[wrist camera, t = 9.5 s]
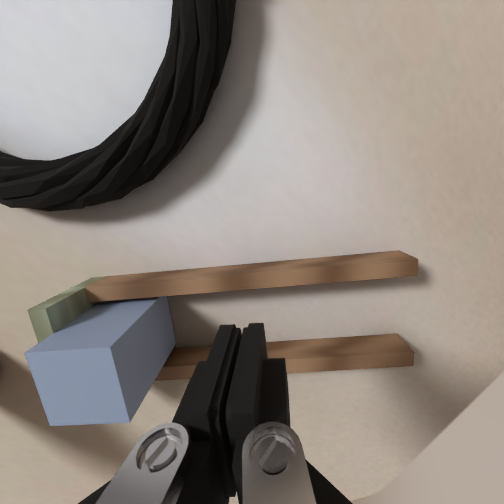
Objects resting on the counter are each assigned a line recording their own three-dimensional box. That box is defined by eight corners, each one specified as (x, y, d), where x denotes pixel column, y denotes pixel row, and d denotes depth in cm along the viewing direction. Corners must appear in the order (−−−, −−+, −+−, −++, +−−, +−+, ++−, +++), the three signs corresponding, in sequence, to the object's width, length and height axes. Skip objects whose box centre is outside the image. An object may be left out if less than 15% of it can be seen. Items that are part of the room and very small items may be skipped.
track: (399, 250, 20) (455, 275, 14) (396, 346, 22) (445, 403, 16) (91, 277, 22) (27, 310, 16) (114, 363, 24) (64, 420, 18)
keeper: (165, 290, 22) (110, 347, 14) (176, 343, 23) (129, 422, 15) (109, 295, 22) (24, 352, 14) (122, 346, 23) (49, 426, 15)
